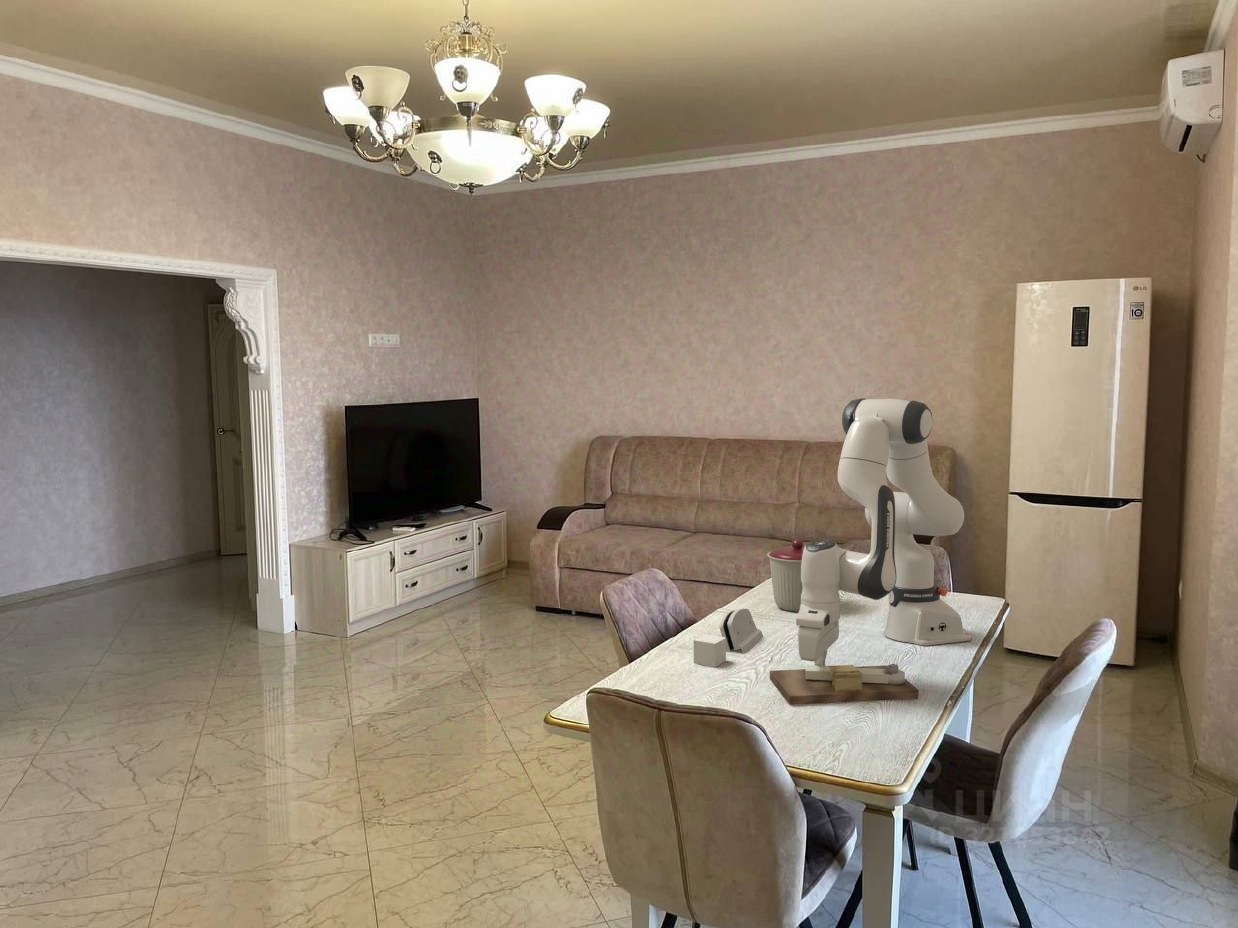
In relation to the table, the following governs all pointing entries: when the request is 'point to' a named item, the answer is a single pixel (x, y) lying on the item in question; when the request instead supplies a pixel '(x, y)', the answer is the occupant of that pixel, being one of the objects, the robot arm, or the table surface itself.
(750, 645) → the hinge
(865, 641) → the table surface
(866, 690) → the board
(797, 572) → the canister
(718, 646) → the light grey cube
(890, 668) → the link
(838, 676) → the block
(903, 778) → the table surface
